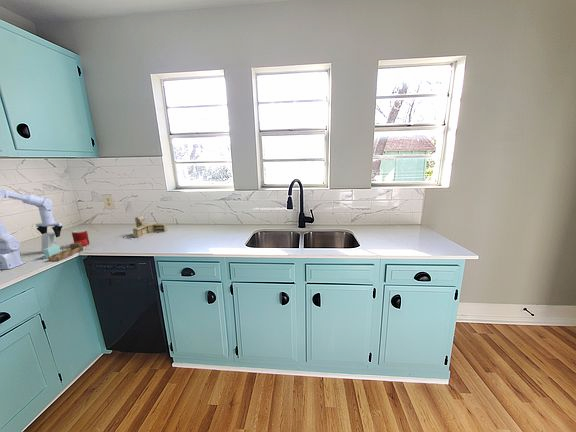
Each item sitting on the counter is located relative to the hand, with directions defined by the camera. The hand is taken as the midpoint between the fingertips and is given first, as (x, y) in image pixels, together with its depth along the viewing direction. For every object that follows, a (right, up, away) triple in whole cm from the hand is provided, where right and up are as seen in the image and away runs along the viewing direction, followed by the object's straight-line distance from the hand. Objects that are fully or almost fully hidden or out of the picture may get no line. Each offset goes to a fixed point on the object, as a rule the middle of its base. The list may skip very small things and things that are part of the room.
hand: (52, 237), depth 158 cm
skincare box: (-4, -9, +1) cm, 10 cm away
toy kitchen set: (+45, -1, +35) cm, 57 cm away
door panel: (+8, -11, -7) cm, 15 cm away
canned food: (+10, -7, +12) cm, 17 cm away
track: (+16, -11, -6) cm, 20 cm away
